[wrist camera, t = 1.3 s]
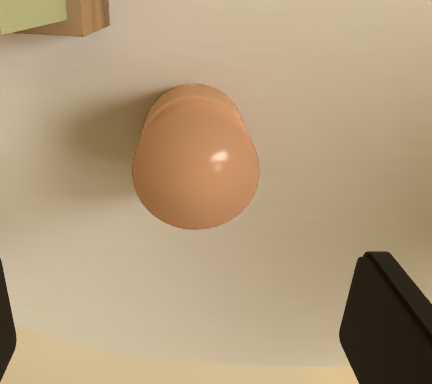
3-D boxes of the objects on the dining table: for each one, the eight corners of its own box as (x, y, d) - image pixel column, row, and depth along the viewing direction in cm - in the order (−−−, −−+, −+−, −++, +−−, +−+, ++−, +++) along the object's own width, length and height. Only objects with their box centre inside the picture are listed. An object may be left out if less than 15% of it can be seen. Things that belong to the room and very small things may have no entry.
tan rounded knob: (247, 86, 23) (266, 115, 17) (238, 179, 25) (252, 230, 20) (144, 81, 22) (130, 109, 17) (145, 176, 25) (133, 228, 19)
